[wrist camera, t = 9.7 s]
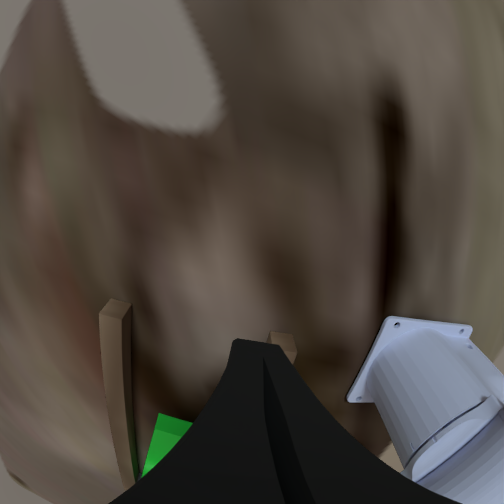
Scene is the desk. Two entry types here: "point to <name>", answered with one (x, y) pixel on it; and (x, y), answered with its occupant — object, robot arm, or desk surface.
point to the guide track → (120, 386)
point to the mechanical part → (164, 439)
